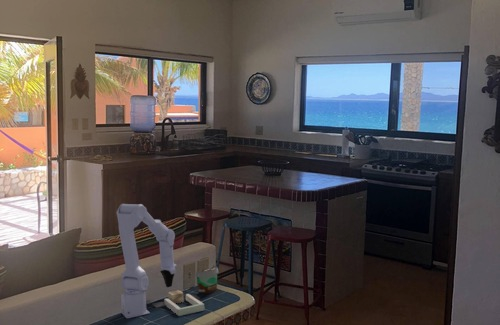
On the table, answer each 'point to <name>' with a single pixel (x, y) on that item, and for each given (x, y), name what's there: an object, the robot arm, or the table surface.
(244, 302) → the table surface
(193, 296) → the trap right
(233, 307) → the table surface
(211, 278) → the food container
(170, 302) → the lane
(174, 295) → the birch block
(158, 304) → the plate
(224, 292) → the table surface
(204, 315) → the table surface
